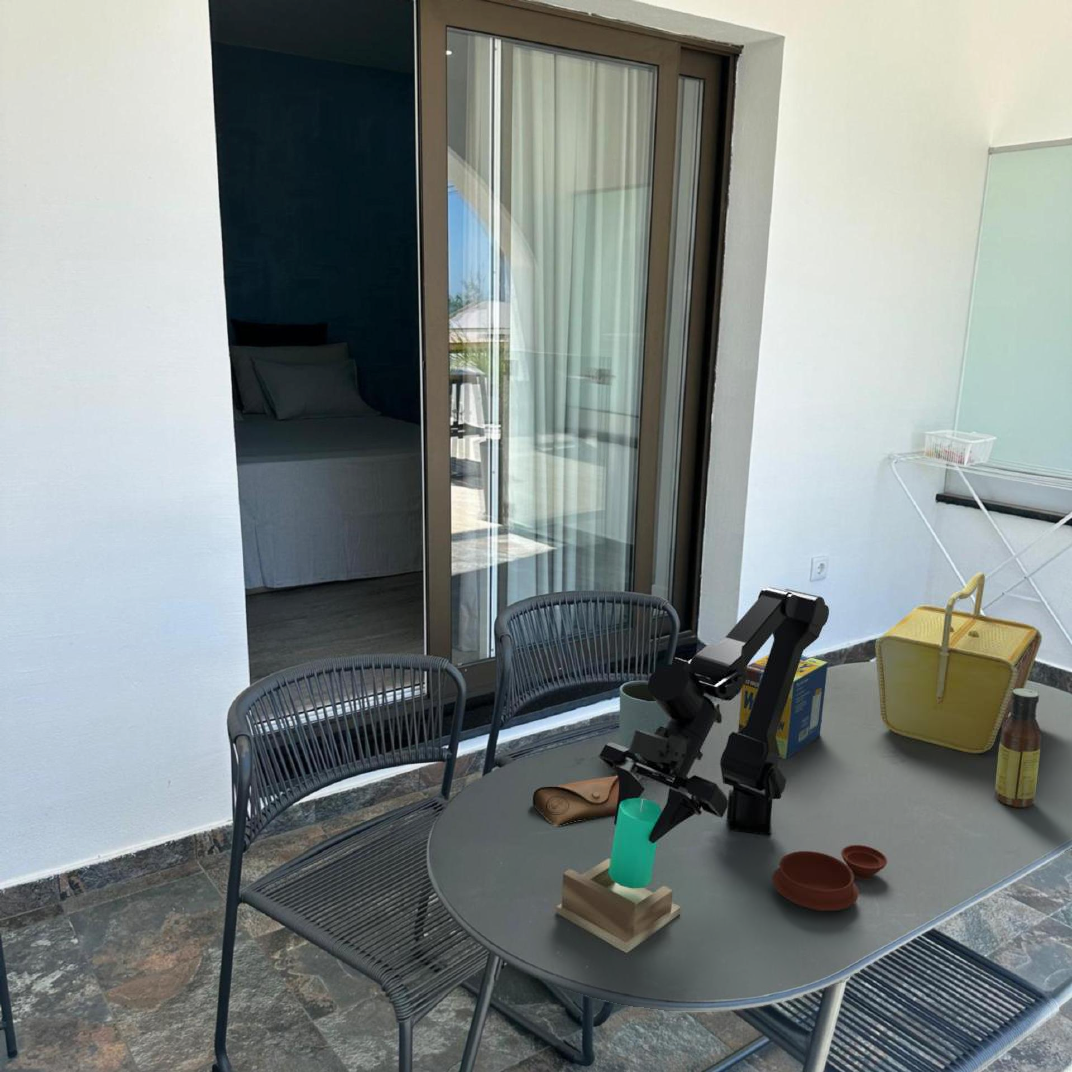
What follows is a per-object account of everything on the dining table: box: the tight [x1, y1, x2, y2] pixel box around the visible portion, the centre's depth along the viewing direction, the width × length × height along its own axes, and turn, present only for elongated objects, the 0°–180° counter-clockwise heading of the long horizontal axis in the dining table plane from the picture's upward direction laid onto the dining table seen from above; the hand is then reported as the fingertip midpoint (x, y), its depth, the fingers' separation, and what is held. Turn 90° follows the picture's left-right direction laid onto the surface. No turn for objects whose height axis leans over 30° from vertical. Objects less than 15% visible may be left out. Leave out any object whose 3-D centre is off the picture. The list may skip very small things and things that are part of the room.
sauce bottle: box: [994, 688, 1042, 808], centre depth 165 cm, size 6×6×20 cm
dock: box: [555, 858, 682, 954], centre depth 131 cm, size 12×12×6 cm
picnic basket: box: [874, 571, 1043, 754], centre depth 195 cm, size 29×26×30 cm
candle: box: [608, 797, 663, 889], centre depth 133 cm, size 6×6×12 cm
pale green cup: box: [618, 680, 670, 761], centre depth 181 cm, size 10×10×12 cm
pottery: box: [771, 844, 888, 912], centre depth 139 cm, size 12×20×4 cm, turn 125°
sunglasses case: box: [532, 775, 619, 826], centre depth 160 cm, size 18×7×7 cm
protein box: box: [737, 654, 829, 760], centre depth 187 cm, size 10×15×16 cm
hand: (633, 833), depth 131 cm, fingers closed on candle, 5 cm apart
